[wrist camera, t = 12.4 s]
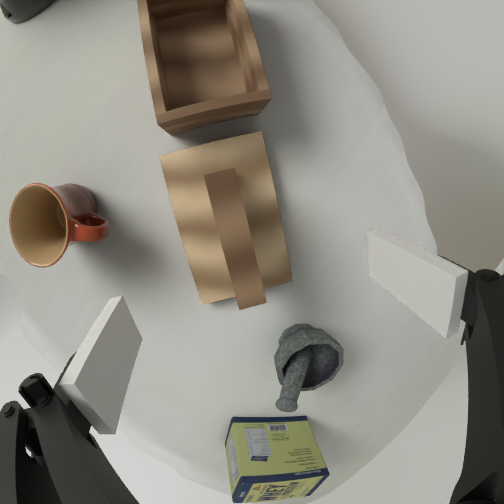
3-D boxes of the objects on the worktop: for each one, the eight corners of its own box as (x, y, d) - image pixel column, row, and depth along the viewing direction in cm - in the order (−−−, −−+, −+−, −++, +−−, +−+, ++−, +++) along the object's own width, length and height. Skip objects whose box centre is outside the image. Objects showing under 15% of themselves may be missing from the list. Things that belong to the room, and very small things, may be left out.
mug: (51, 236, 31) (9, 258, 21) (56, 174, 29) (11, 179, 19) (123, 252, 33) (94, 282, 23) (132, 186, 31) (101, 193, 21)
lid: (163, 157, 31) (136, 150, 19) (258, 133, 32) (283, 114, 20) (202, 296, 37) (200, 351, 25) (288, 274, 37) (320, 319, 26)
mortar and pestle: (314, 302, 39) (349, 349, 28) (334, 342, 42) (366, 390, 31) (248, 339, 39) (261, 396, 28) (275, 375, 42) (293, 429, 31)
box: (148, 22, 24) (136, -8, 17) (228, 4, 25) (233, -28, 17) (170, 134, 30) (157, 124, 22) (258, 114, 31) (271, 98, 23)
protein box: (293, 441, 50) (311, 496, 35) (224, 443, 47) (231, 503, 32) (307, 414, 47) (331, 474, 32) (230, 416, 44) (240, 484, 30)
